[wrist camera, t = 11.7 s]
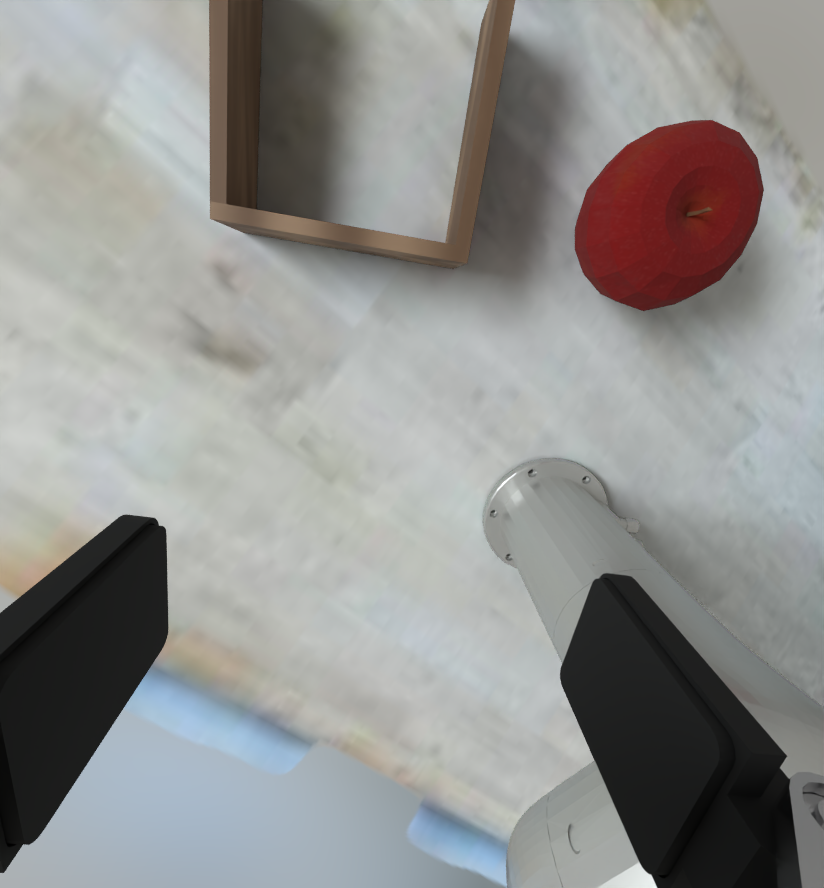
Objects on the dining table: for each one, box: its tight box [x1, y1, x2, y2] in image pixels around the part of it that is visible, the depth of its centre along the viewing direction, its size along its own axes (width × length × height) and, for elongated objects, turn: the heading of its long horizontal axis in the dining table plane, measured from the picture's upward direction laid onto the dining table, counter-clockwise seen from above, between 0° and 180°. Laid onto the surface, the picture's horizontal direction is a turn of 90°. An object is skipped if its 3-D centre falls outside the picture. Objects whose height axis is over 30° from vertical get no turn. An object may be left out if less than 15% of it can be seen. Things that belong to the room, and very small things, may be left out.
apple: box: [575, 120, 764, 311], centre depth 29 cm, size 11×11×12 cm
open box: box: [209, 0, 515, 269], centre depth 28 cm, size 17×16×6 cm
